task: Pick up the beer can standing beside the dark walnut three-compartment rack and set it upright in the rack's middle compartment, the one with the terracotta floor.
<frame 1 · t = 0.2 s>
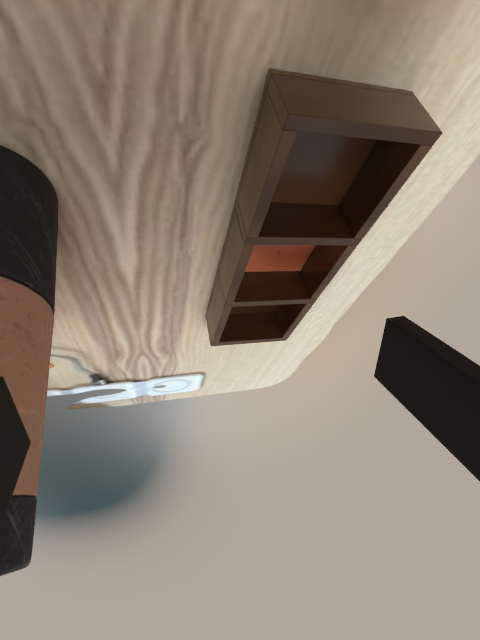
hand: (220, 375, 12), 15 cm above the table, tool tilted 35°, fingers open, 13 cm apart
rack: (275, 239, 30), on the table
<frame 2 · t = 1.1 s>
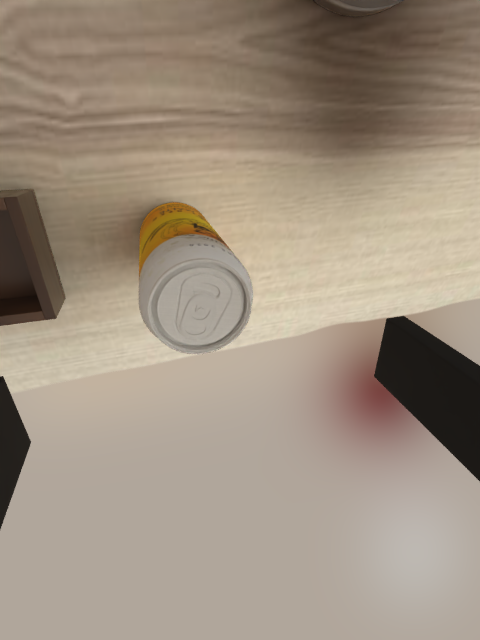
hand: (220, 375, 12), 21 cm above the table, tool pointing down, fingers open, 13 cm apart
beer can: (175, 236, 30), on the table
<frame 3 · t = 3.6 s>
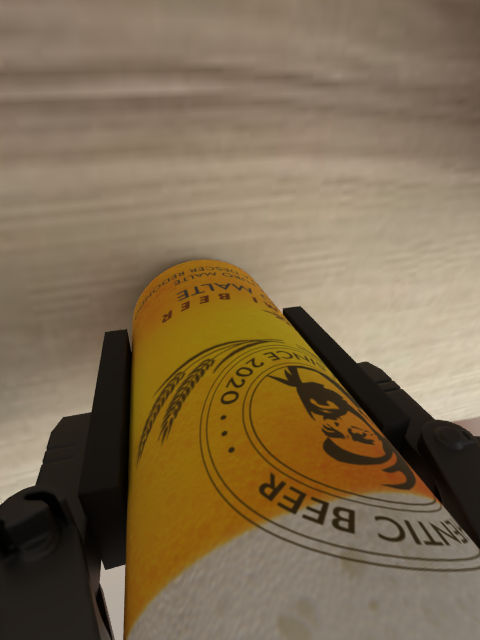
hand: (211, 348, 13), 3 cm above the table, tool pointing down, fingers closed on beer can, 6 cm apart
beer can: (199, 314, 16), on the table, touching gripper
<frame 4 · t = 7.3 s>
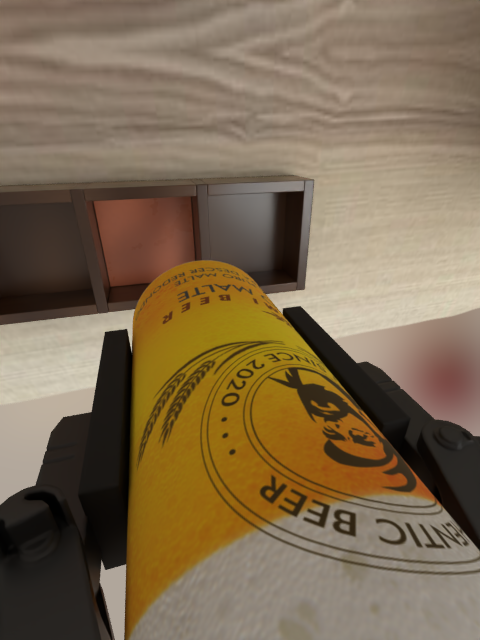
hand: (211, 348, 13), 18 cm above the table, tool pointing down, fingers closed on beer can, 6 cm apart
beer can: (199, 315, 16), point 15 cm above the table, touching gripper
rack: (148, 238, 29), on the table
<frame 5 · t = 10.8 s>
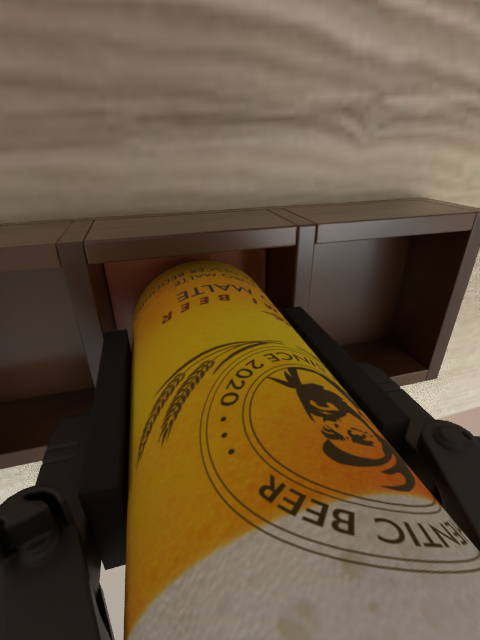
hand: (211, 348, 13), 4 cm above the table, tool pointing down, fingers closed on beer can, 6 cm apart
beer can: (199, 315, 16), point 1 cm above the table, touching gripper
rack: (191, 304, 17), on the table
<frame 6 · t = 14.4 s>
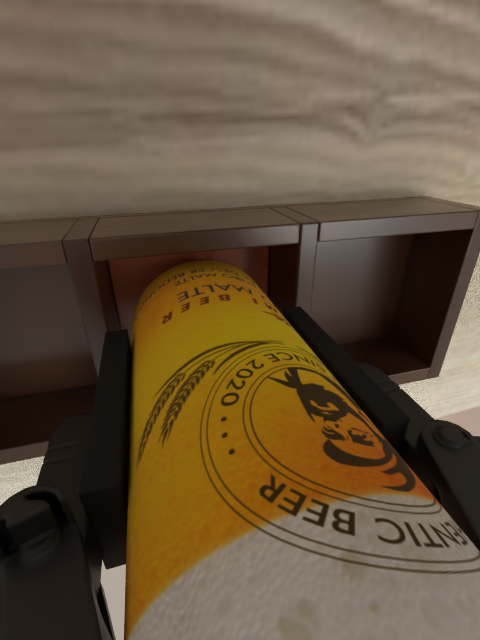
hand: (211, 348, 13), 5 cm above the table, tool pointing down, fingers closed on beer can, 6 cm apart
beer can: (199, 315, 16), point 2 cm above the table, touching gripper
rack: (195, 301, 17), on the table
when the fingers open (6 cm above the table, at t = 17.8 s): beer can drops 2 cm, resting on rack.
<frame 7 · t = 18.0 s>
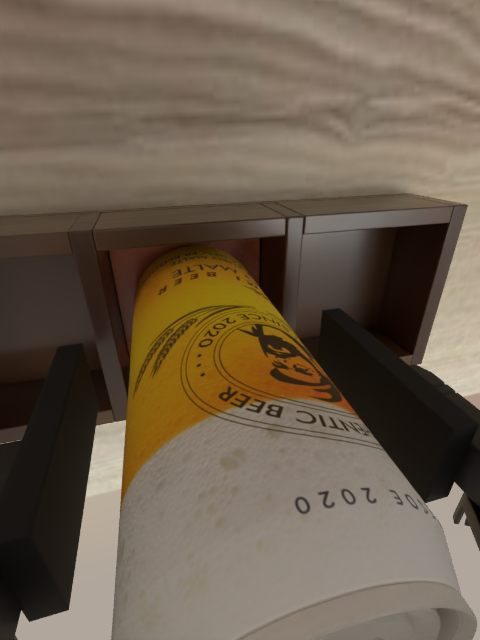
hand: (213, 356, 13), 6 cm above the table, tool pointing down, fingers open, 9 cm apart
beer can: (194, 296, 18), point 1 cm above the table, touching rack
rack: (190, 292, 18), on the table
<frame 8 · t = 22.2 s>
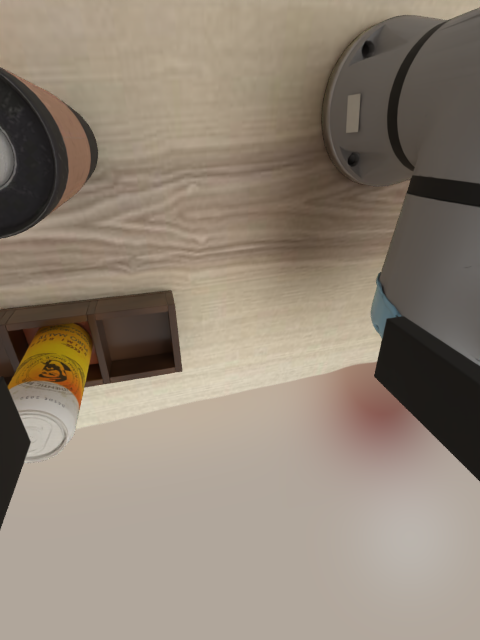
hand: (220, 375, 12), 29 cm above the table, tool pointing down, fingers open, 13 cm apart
beer can: (65, 340, 39), point 1 cm above the table, touching rack
rack: (65, 338, 40), on the table
travel mug: (57, 146, 31), on the table
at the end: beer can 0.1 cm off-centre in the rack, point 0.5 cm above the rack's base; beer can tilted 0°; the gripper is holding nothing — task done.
